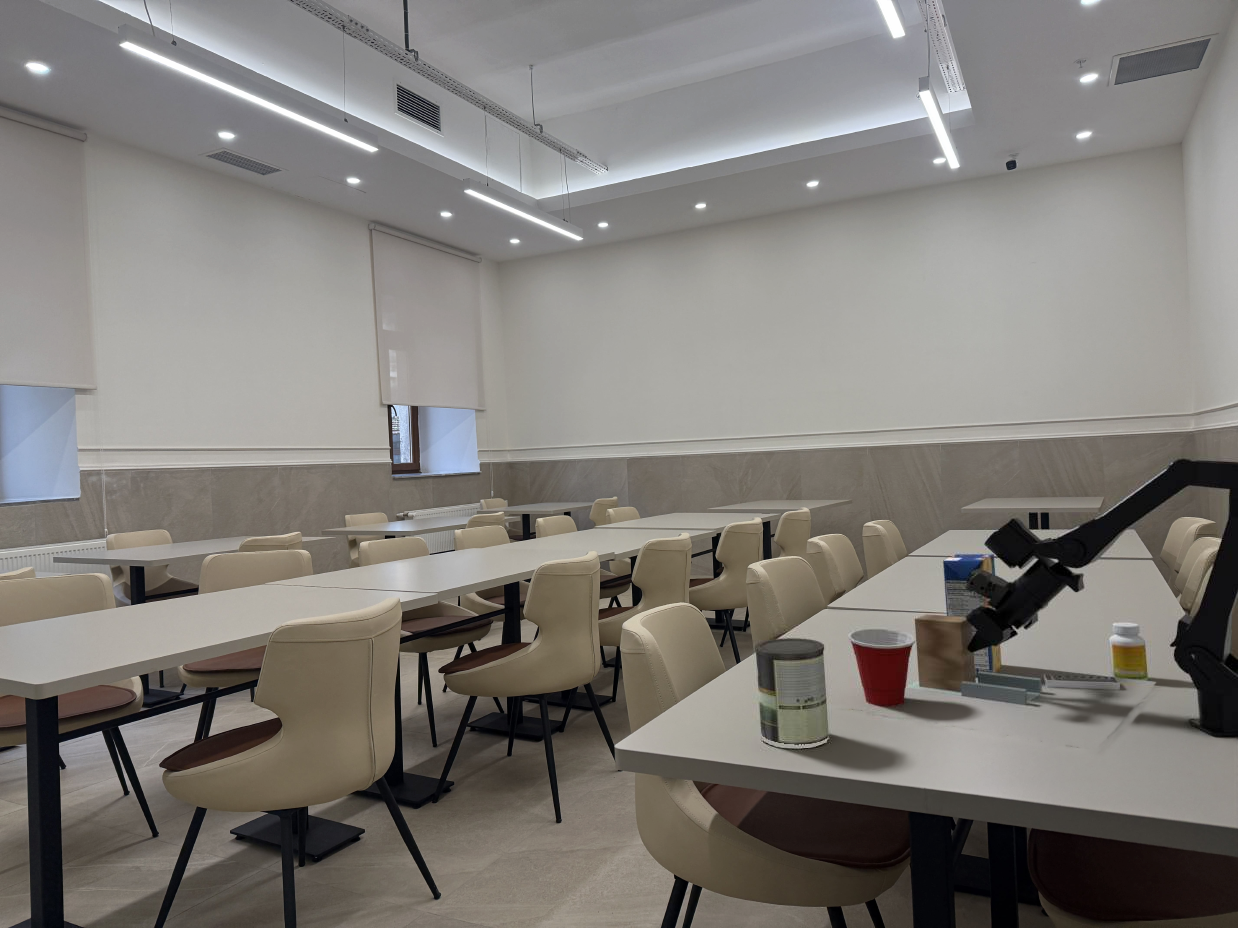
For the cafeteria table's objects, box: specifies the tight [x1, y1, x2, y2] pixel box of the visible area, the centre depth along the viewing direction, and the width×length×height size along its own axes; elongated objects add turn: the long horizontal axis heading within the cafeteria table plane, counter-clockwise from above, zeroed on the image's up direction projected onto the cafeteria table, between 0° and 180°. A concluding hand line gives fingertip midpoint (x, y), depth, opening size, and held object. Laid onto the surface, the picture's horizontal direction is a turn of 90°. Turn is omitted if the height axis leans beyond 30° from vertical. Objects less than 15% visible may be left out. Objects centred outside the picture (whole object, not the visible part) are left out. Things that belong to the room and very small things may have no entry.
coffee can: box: [754, 637, 830, 745], centre depth 120 cm, size 10×10×14 cm
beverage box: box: [942, 553, 1003, 678], centre depth 150 cm, size 7×11×22 cm, turn 145°
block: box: [914, 613, 977, 692], centre depth 140 cm, size 8×5×12 cm, turn 46°
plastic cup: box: [847, 628, 916, 707], centre depth 134 cm, size 11×11×12 cm
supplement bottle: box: [1108, 621, 1149, 682], centre depth 141 cm, size 5×5×10 cm
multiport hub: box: [1042, 673, 1121, 691], centre depth 136 cm, size 4×11×2 cm, turn 67°
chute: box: [905, 671, 1043, 706], centre depth 137 cm, size 20×9×3 cm, turn 46°
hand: (969, 650), depth 137 cm, fingers closed
